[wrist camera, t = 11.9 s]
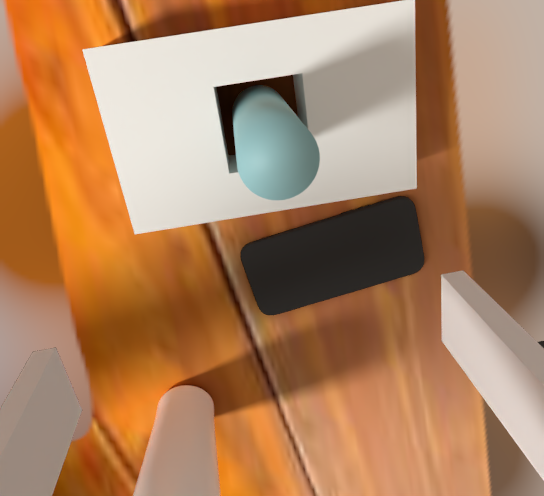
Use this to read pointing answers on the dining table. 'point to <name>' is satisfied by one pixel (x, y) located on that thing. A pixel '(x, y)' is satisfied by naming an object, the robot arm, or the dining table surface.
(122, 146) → the socket block
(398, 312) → the dining table surface
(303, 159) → the teal peg
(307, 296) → the phone
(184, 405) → the drinking glass
